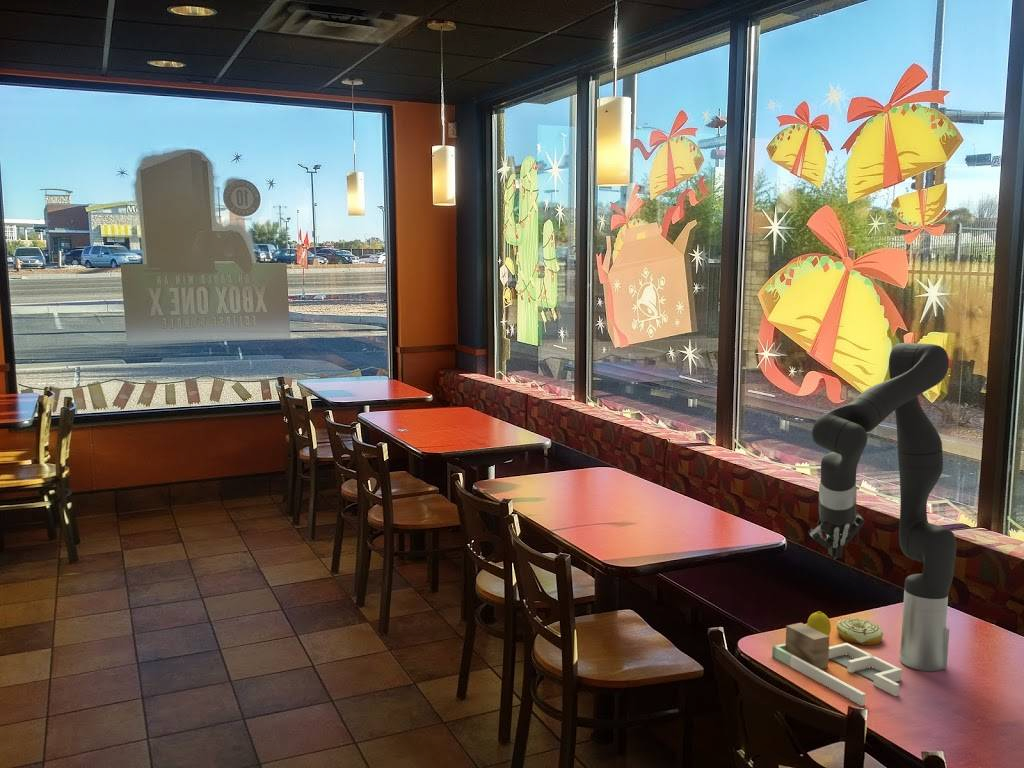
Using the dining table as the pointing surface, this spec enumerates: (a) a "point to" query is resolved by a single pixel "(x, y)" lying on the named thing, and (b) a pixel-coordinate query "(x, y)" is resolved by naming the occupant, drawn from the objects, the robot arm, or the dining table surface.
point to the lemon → (819, 622)
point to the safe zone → (781, 653)
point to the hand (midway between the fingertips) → (835, 555)
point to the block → (807, 644)
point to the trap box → (880, 674)
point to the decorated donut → (859, 631)
